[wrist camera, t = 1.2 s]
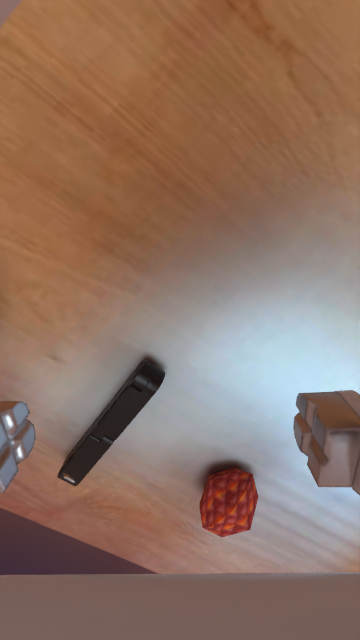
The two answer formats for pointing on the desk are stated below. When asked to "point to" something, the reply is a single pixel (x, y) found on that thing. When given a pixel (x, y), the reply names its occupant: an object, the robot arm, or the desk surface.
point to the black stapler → (112, 421)
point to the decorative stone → (228, 502)
